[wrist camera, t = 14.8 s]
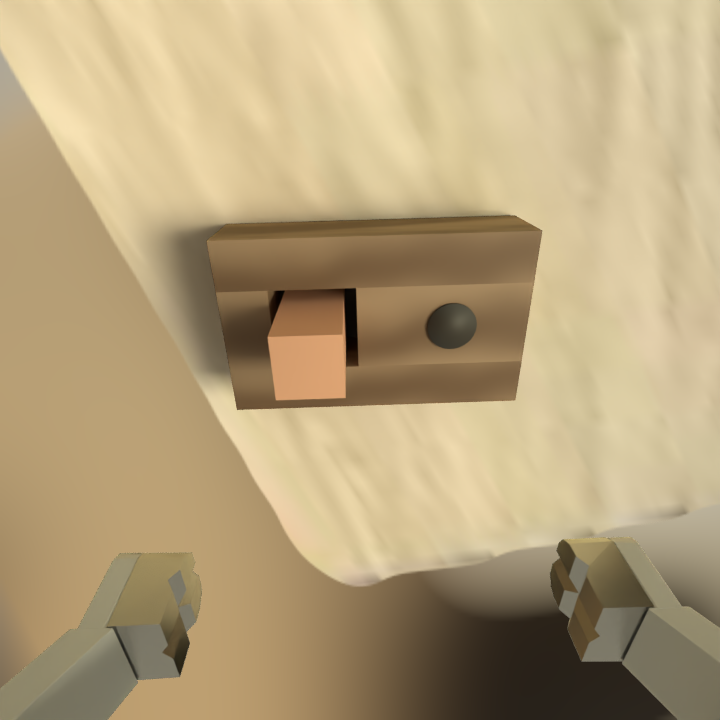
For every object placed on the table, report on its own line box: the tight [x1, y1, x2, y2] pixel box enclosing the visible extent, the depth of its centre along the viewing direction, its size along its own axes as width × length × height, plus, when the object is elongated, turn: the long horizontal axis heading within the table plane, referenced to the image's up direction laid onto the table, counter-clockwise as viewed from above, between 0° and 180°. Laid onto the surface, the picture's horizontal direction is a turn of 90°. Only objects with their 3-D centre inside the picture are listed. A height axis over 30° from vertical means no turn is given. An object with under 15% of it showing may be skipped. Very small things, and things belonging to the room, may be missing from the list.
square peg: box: [268, 288, 346, 400], centre depth 29 cm, size 4×4×10 cm
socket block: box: [206, 216, 542, 410], centre depth 32 cm, size 12×20×5 cm, turn 91°
